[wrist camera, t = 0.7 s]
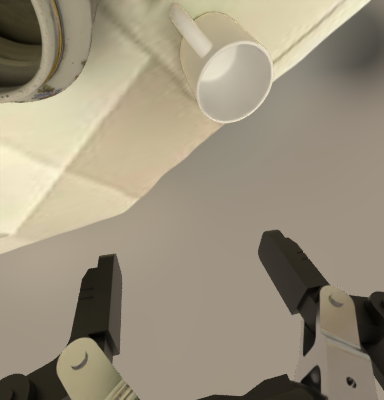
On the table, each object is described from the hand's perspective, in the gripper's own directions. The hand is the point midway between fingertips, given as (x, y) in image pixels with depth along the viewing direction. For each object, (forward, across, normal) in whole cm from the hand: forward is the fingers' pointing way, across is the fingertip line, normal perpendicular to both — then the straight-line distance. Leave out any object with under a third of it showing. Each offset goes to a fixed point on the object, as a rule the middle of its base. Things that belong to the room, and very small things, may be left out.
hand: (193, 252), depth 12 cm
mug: (+26, -6, -9) cm, 28 cm away
